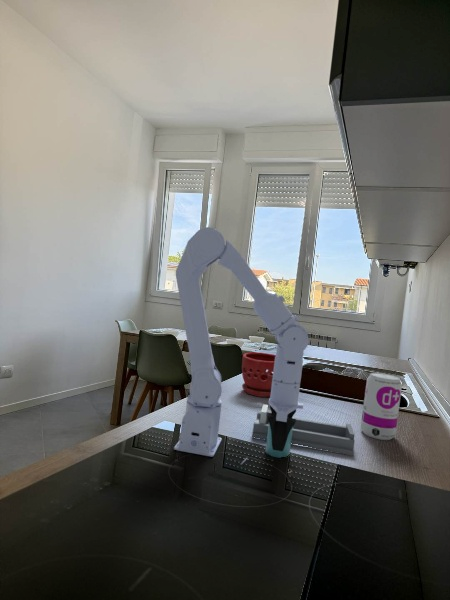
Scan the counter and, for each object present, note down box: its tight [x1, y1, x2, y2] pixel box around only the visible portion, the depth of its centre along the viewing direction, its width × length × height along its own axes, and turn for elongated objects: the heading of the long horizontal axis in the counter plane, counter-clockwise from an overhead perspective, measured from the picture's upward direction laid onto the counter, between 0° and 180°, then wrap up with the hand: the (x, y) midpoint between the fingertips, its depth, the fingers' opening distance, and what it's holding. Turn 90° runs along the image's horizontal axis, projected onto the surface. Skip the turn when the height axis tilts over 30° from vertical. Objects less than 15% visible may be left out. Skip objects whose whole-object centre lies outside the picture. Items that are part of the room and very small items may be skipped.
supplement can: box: [360, 372, 403, 441], centre depth 106 cm, size 8×8×15 cm
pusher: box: [260, 404, 272, 424], centre depth 98 cm, size 6×5×4 cm
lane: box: [251, 411, 355, 457], centre depth 97 cm, size 11×22×4 cm, turn 80°
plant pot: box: [241, 351, 276, 398], centre depth 133 cm, size 13×13×12 cm
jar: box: [265, 417, 293, 459], centre depth 87 cm, size 5×5×7 cm
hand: (278, 444), depth 87 cm, fingers closed on jar, 5 cm apart
